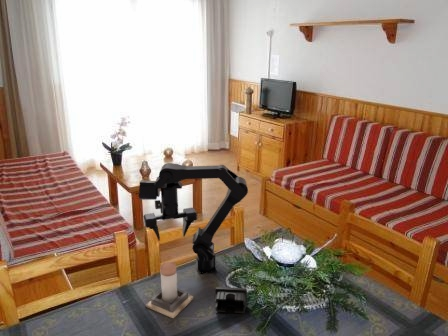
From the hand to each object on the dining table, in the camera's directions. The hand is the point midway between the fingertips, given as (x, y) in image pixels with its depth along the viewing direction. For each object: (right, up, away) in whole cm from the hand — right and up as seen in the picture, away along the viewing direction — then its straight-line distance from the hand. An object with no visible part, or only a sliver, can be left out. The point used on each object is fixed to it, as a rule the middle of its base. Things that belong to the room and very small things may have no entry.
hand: (171, 238), depth 139 cm
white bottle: (+2, -18, -15) cm, 23 cm away
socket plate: (+2, -19, -15) cm, 24 cm away
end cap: (+22, -20, -17) cm, 34 cm away
